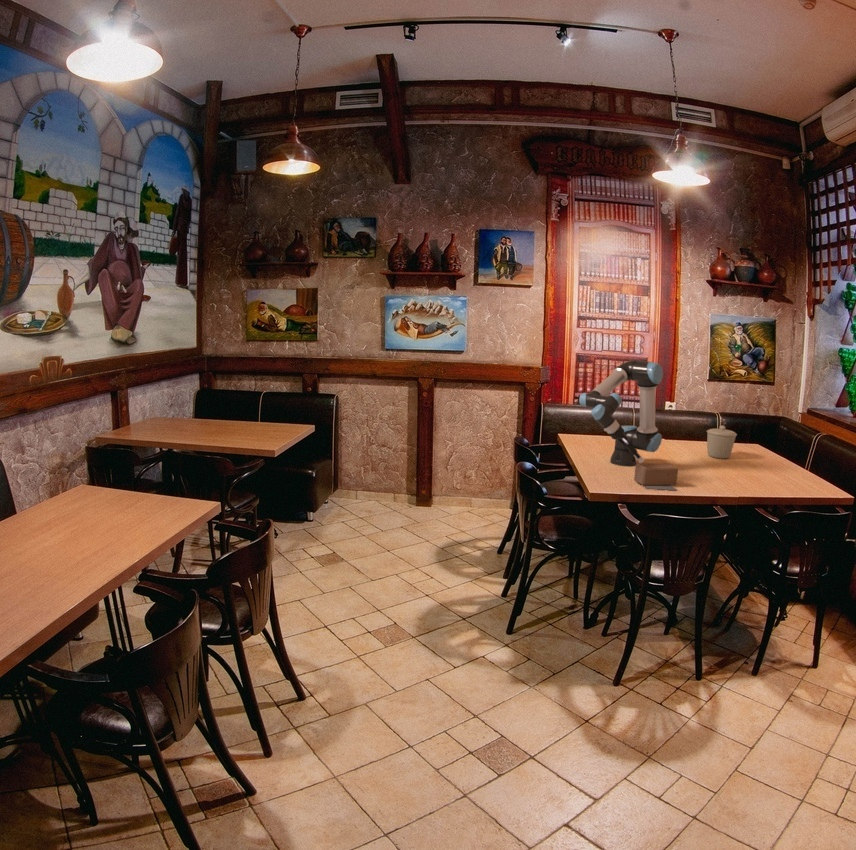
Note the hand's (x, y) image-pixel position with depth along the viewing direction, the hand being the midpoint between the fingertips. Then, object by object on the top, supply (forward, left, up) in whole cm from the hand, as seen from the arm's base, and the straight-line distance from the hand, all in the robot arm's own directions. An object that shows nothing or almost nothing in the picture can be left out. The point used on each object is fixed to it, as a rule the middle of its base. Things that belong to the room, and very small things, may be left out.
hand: (642, 461), depth 324 cm
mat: (0, +9, -13) cm, 16 cm away
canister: (-75, +76, -13) cm, 108 cm away
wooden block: (-1, -1, -7) cm, 8 cm away
